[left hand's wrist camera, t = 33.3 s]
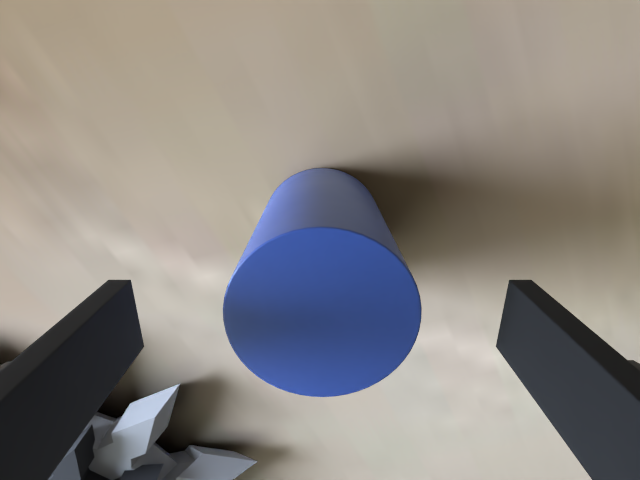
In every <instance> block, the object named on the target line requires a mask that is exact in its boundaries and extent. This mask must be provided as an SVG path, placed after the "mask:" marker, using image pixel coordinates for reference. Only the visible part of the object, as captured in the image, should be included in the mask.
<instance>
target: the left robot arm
mask: <svg viewBox="0 0 640 480" xmlns="http://www.w3.org/2000/svg"><path fill="white" fill-rule="evenodd" d="M143 347H144V344H143V339H142V334H141V329H140V324H139V319H138V314H137V309H136V304H135V299H134V294H133V289H132V284H131V280H108V281H107V282H106V283H104V284H103V285H102V286H101V287H100V288H98V289H97V290H96V291H95V292H94V293H92V294H91V295H90V296H89V297H88V298H86V299H85V300H84V301H83V302H82V303H80V304H79V305H78V306H77V307H76V308H75V309H73V310H72V311H71V312H70V313H69V314H67V315H66V316H65V317H64V318H63V319H61V320H60V321H59V322H58V323H57V324H55V325H54V326H53V327H52V328H51V329H49V330H48V331H47V332H46V333H45V334H43V335H42V336H41V337H40V338H39V339H37V340H36V341H35V342H34V343H33V344H32V345H30V346H29V347H28V348H27V349H26V350H24V351H23V352H22V353H21V354H20V355H18V356H17V357H16V358H15V359H14V360H12V361H11V362H6V363H4V364H2V365H0V480H48V479H49V477H50V476H51V474H52V473H53V472H54V470H55V469H56V467H57V466H58V465H59V463H60V462H61V461H62V459H63V458H64V456H65V455H66V454H67V452H68V451H69V450H70V448H71V447H72V445H73V444H74V443H75V441H76V440H77V438H78V437H79V436H80V434H81V433H82V432H83V430H84V429H85V427H86V426H87V425H88V423H89V422H90V420H91V419H92V418H93V416H94V415H95V414H96V412H97V411H98V409H99V408H100V407H101V405H102V404H103V402H104V401H105V400H106V398H107V397H108V396H109V394H110V393H111V391H112V390H113V389H114V387H115V386H116V384H117V383H118V382H119V380H120V379H121V378H122V376H123V375H124V373H125V372H126V371H127V369H128V368H129V367H130V365H131V364H132V362H133V361H134V360H135V358H136V357H137V355H138V354H139V353H140V351H141V350H142V349H143ZM496 347H497V349H498V350H499V351H500V353H501V354H502V355H503V357H504V358H505V360H506V361H507V362H508V364H509V365H510V367H511V368H512V369H513V371H514V372H515V373H516V375H517V376H518V378H519V379H520V380H521V382H522V383H523V384H524V386H525V387H526V389H527V390H528V391H529V393H530V394H531V396H532V397H533V398H534V400H535V401H536V402H537V404H538V405H539V407H540V408H541V409H542V411H543V412H544V414H545V415H546V416H547V418H548V419H549V420H550V422H551V423H552V425H553V426H554V427H555V429H556V430H557V432H558V433H559V434H560V436H561V437H562V438H563V440H564V441H565V443H566V444H567V445H568V447H569V448H570V450H571V451H572V452H573V454H574V455H575V456H576V458H577V459H578V461H579V462H580V463H581V465H582V466H583V468H584V469H585V470H586V472H587V473H588V474H589V476H590V477H591V479H592V480H640V364H639V363H637V362H635V361H634V360H626V359H625V358H624V357H623V356H622V355H620V354H619V353H618V352H617V351H616V350H614V349H613V348H612V347H611V346H610V345H608V344H607V343H606V342H605V341H604V340H603V339H601V338H600V337H599V336H598V335H597V334H595V333H594V332H593V331H592V330H591V329H589V328H588V327H587V326H586V325H585V324H583V323H582V322H581V321H580V320H579V319H577V318H576V317H575V316H574V315H573V314H571V313H570V312H569V311H568V310H567V309H565V308H564V307H563V306H562V305H561V304H560V303H558V302H557V301H556V300H555V299H554V298H552V297H551V296H550V295H549V294H548V293H546V292H545V291H544V290H543V289H542V288H540V287H539V286H538V285H537V284H536V283H534V282H533V281H532V280H509V284H508V289H507V294H506V299H505V304H504V309H503V314H502V319H501V324H500V329H499V334H498V339H497V344H496Z"/></svg>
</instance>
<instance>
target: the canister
mask: <svg viewBox="0 0 640 480" xmlns="http://www.w3.org/2000/svg"><path fill="white" fill-rule="evenodd" d="M223 320H224V325H225V330H226V334H227V336H228V339H229V342H230V344H231V346H232V348H233V350H234V351H235V353H236V354H237V356H238V357H239V359H240V360H241V361H242V362H243V363H244V364H245V366H246V367H247V368H248V369H249V370H251V371H252V372H253V373H254V374H255V375H257V376H258V377H259V378H261V379H262V380H264V381H265V382H267V383H269V384H271V385H273V386H275V387H277V388H279V389H282V390H285V391H288V392H291V393H295V394H299V395H305V396H313V397H330V396H339V395H346V394H350V393H353V392H357V391H360V390H362V389H365V388H368V387H370V386H372V385H374V384H375V383H377V382H379V381H381V380H382V379H384V378H385V377H387V376H388V375H389V374H390V373H392V372H393V371H394V370H395V369H396V368H397V367H398V366H399V365H400V364H401V363H402V362H403V361H404V359H405V358H406V356H407V355H408V354H409V352H410V351H411V349H412V347H413V345H414V343H415V341H416V338H417V335H418V332H419V328H420V323H421V300H420V295H419V291H418V288H417V285H416V283H415V281H414V278H413V276H412V274H411V272H410V270H409V268H408V266H407V264H406V262H405V260H404V258H403V256H402V254H401V252H400V250H399V248H398V246H397V244H396V242H395V240H394V238H393V236H392V234H391V232H390V230H389V229H388V227H387V225H386V223H385V221H384V219H383V217H382V215H381V213H380V211H379V209H378V207H377V205H376V203H375V201H374V199H373V197H372V195H371V194H370V192H369V191H368V190H367V188H366V187H365V186H364V185H363V184H362V183H361V182H360V181H358V180H357V179H356V178H354V177H353V176H351V175H349V174H347V173H345V172H342V171H339V170H335V169H330V168H314V169H309V170H305V171H302V172H299V173H297V174H295V175H293V176H291V177H290V178H288V179H287V180H285V181H284V182H283V183H282V184H281V185H280V186H279V187H278V188H277V189H276V191H275V192H274V193H273V195H272V197H271V198H270V200H269V202H268V204H267V206H266V208H265V210H264V212H263V214H262V216H261V218H260V220H259V222H258V224H257V227H256V229H255V231H254V233H253V235H252V237H251V239H250V241H249V243H248V245H247V247H246V249H245V251H244V253H243V255H242V257H241V259H240V261H239V263H238V265H237V267H236V269H235V271H234V273H233V275H232V277H231V279H230V282H229V284H228V286H227V289H226V293H225V297H224V304H223Z"/></svg>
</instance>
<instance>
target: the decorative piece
mask: <svg viewBox="0 0 640 480" xmlns="http://www.w3.org/2000/svg"><path fill="white" fill-rule="evenodd" d="M179 386H180V384H178V385H175V386H173V387H170V388H168V389H165V390H162V391H160V392H157V393H155V394H152V395H150V396H147V397H145V398H142V399H139V400H137V401H134V402H132V403H130V405H129V406H128V408H127V409H126V411H125V413H124V414H123V416H121V417H119V418H117V419H116V418H113V417H110V416H107V415H104V414H102V413H99V412H96V414H95V415H94V416H93V418H92V419H91V420H90V422H89V423H88V425H87V426H86V427H85V429H84V430H83V432H82V433H81V434H80V436H79V437H78V438H77V440H76V441H75V443H74V444H73V445H72V447H71V448H70V450H69V451H68V452H67V454H66V455H65V456H64V458H63V459H62V461H61V462H60V463H59V465H58V466H57V467H56V469H55V470H54V472H53V473H52V474H51V476H50V477H49V479H48V480H233V479H235V478H236V477H237V476H239V475H240V474H241V473H243V472H244V471H245V470H247V469H248V468H249V467H251V466H252V465H253V464H255V463H256V462H257V461H256V460H253V459H251V458H249V457H246V456H244V455H242V454H240V453H237V452H235V451H228V450H221V449H214V448H207V447H200V446H193V445H189V446H188V447H187V448H186V449H185V451H181V452H175V453H168V452H166V451H165V450H164V449H163V448H161V447H160V446H159V445H158V444H156V443H155V441H156V440H157V439H158V438H159V436H160V435H161V434H162V433H163V432H164V430H165V429H166V428H167V427H168V424H169V420H170V417H171V414H172V410H173V407H174V403H175V400H176V396H177V393H178V389H179Z"/></svg>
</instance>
